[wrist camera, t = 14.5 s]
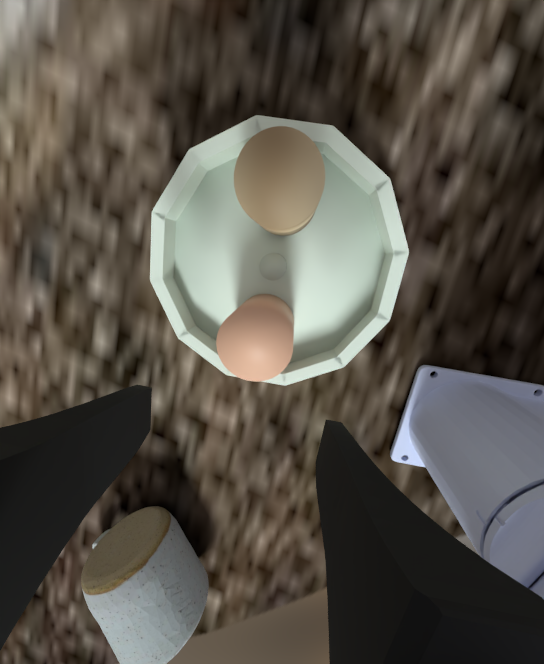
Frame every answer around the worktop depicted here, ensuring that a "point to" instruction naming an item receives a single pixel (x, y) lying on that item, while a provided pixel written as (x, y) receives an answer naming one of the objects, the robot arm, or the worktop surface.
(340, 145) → the groove tray
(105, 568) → the ceramic mug
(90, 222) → the worktop surface
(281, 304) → the peach rounded oval piece
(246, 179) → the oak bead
